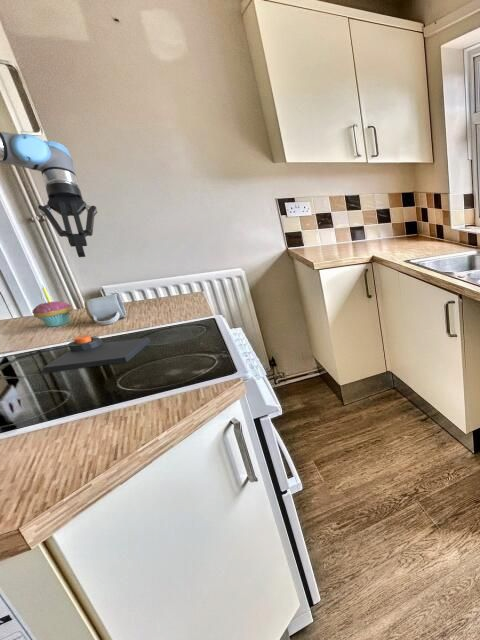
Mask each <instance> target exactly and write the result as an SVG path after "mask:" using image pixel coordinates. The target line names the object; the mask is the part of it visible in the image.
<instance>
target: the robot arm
mask: <svg viewBox="0 0 480 640" xmlns="http://www.w3.org/2000/svg"><path fill="white" fill-rule="evenodd" d="M0 163H2V164H6V165H11V166H15V167H20V168H25V169H29V170H33V171H38V172H40V173H41V177H42V181H43V184H44V187H45V192H46V196H47V198H48V199H47V203H46V204H45V205H42V204H40V205H38V206H37V208H38V210H39V213H41V214H42V215H43V216H45V217H46V219H47V220H48V221H49V223H50V225H51V226H52V227H53V229H54V230H55V232H56V233H57V235H58V236H59V237H61V238H62V237H66V238H67V240H68V244H69V246H70V247H71V248H72V247H75V251H76V253H77V256H78V258H86V253H85V250H84V247H87V246H88V242H87V239H86V237H92V236H93V233H94V225H95V216H96V215H97V213H98V210H97V206H95V205H89V204H87V202H86V201H85V200H84V199H83V196H82V192H81V188H80V184H79V182H78V177H77V175H76V171H75V167H74V164H73V163H74V161H73V158H72V156H71V153H70V152H69V149H68V148H67V147H66V146H64V145H63V144H62V143H59V142H57V141H53V140H43V139H41V138H40V137H38V136H36V135H32V134H26V133H13V132H7V131H6V132H5V131H0ZM85 210H86V213H87V214H86V223H85V229H84V228H83V224H82V221H81V217H80V215H82V214H83V212H84V211H85ZM52 211H54V212H56V213H57V214H59V215H61V219H62V223H63V226H64V229H63V228H62V227H61V225H60V224H59V223H58V221H57V220H56V218H55V217H54V215H53V213H52ZM70 216H71V217H73V219H74V223H75V226H76V230H77V233H73V230H72V226H71V223H70V218H69V217H70Z"/></svg>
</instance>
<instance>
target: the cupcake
mask: <svg viewBox="0 0 480 640" xmlns="http://www.w3.org/2000/svg"><path fill="white" fill-rule="evenodd" d="M41 289H42V291H43V293H44V296H45V299H46V300H47V302H44V303H39V304H38V305H37V306H35V307H34V308H33V310H32V312H31V313H32V314H33V317H34V318H37V319H39V320H41V321H42V322H43V323H44V324H45V325H46V326H47V327H52V328H53V327H60V326H64V325H67V324H69V323H70V312H72V311H73V310H74V308H73V306H72V305H71V304H70V303H68V302H65V301H58V300H57V301H52V300H51V297H50V296H49V293H48V291H47V288H46V287H45V286H44V285H42V288H41Z"/></svg>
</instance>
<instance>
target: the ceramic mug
mask: <svg viewBox="0 0 480 640" xmlns="http://www.w3.org/2000/svg"><path fill="white" fill-rule="evenodd" d="M84 309H85V311H86V314H87V316H88V317H89V319H90V320H91V321H93V322H95V324H97V325H100V326H107V325H108V324H109V325H112V324H114V323H116V322H117V321H118V320H119V319H124V318H126V317H127V311H126V308H125V306H124V303H123V301H122V299H121V297H120V295H118V294H117V293H113V294H108V295H104V296H99V297H94V298H90V299H87V300H85V301H84ZM109 325H108V326H109Z"/></svg>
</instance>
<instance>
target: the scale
mask: <svg viewBox="0 0 480 640" xmlns="http://www.w3.org/2000/svg"><path fill="white" fill-rule="evenodd" d="M90 337H91V339H92V341H90V342H87V343H83V344H76V342H75V340H73V341H70V342H69V343H68V344H67V346H68V348H69V350H67V351H66V352H65V353H63V354H61V355H60V356H58V357H56V358H55V359H54V360H52V361H51V362H49V363H47V364H45V366H43V367H42V369H43V371H44V373H45V374H46V373H53V372H62V371H67V370H68V371H69V370H77V369H84V368H93V367H99V366H109V365H116V364H122V363H128V362H129V361H130V360H131V359H133V358H134V357H135V356H136V355H138V353H140V352H141V351H142V350H144V348H146V347H147V346H148V345H149V344H150V343H151V342H152V341H151V338H150V337H141V338H132V339H124V340H116V341H114V340H113V341H107V342H106V341H105V342H102V341H101V339H100V337H98V336H90Z"/></svg>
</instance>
